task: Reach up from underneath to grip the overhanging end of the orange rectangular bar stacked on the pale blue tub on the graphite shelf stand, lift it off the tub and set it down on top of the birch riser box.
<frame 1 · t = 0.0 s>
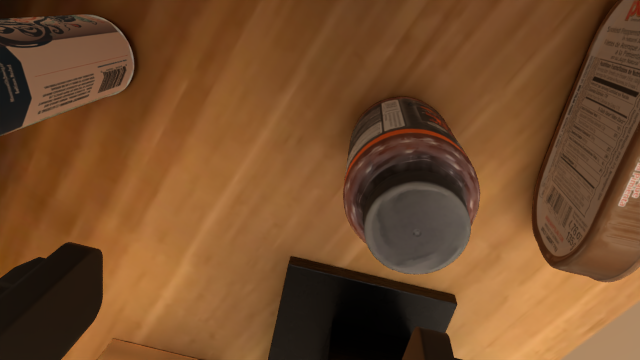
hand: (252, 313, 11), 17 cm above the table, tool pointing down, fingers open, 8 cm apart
beer can: (102, 55, 26), on the table
shelf stand: (349, 347, 33), on the table
supplement bottle: (398, 140, 26), on the table
tin: (577, 114, 25), on the table
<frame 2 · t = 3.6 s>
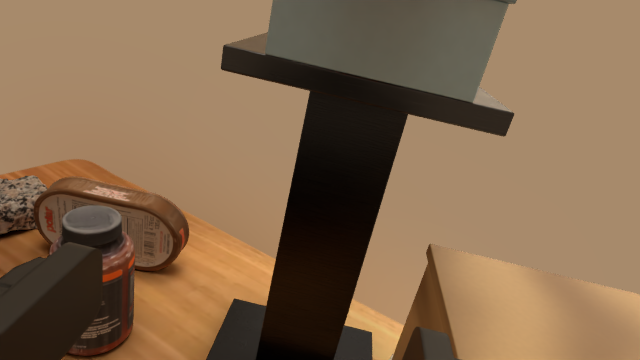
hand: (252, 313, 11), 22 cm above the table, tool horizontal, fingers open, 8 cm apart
storage tub: (368, 62, 25), point 27 cm above the table, touching orange rectangular bar, shelf stand
supplement bottle: (94, 333, 36), on the table
tin: (111, 260, 45), on the table
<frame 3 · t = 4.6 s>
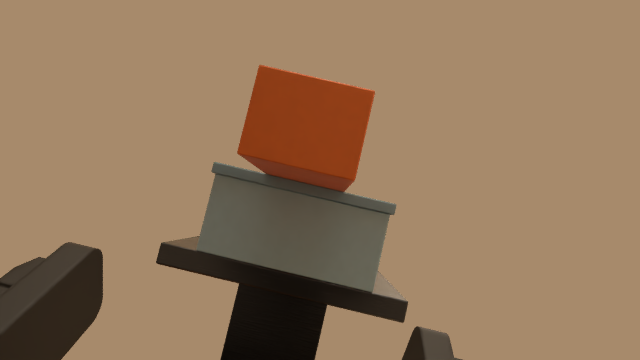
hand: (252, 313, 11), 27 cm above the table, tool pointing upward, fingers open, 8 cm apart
orange rectangular bar: (305, 184, 25), point 32 cm above the table, touching storage tub
storage tub: (291, 259, 29), point 27 cm above the table, touching orange rectangular bar, shelf stand
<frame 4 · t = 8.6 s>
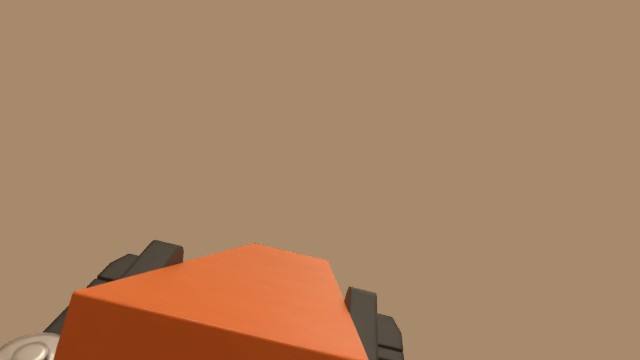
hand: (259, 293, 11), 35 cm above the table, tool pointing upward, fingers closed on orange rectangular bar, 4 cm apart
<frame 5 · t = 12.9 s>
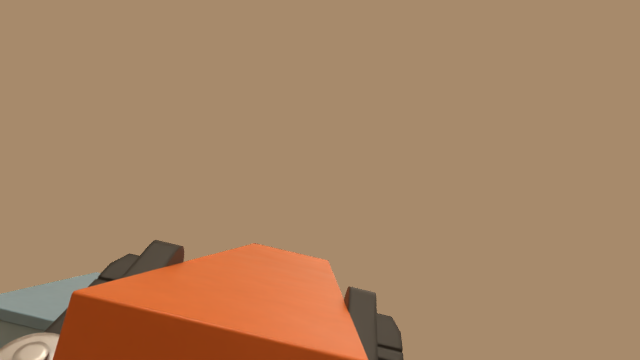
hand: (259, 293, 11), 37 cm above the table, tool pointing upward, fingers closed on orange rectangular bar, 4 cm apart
when the fingers open (23 cm above the table, at t = 17.1 s): orange rectangular bar stays where it is, resting on riser box.
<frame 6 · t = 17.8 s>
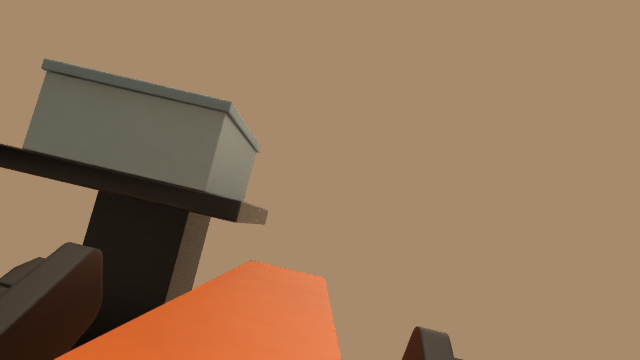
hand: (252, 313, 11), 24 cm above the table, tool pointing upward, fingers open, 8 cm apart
storage tub: (155, 182, 28), point 27 cm above the table, touching shelf stand
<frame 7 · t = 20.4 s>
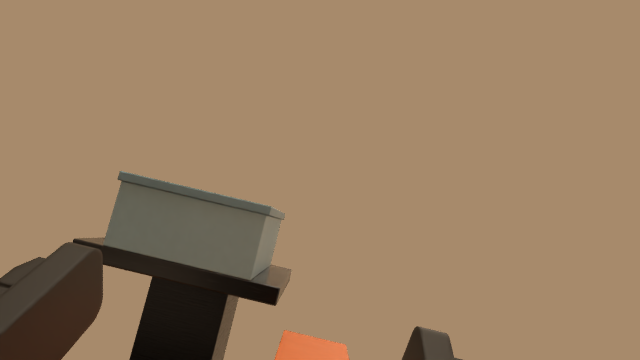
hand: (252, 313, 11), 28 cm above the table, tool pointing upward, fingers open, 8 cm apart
storage tub: (200, 257, 34), point 27 cm above the table, touching shelf stand
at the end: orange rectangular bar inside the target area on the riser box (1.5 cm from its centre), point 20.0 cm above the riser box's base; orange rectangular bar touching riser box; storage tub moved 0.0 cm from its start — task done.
